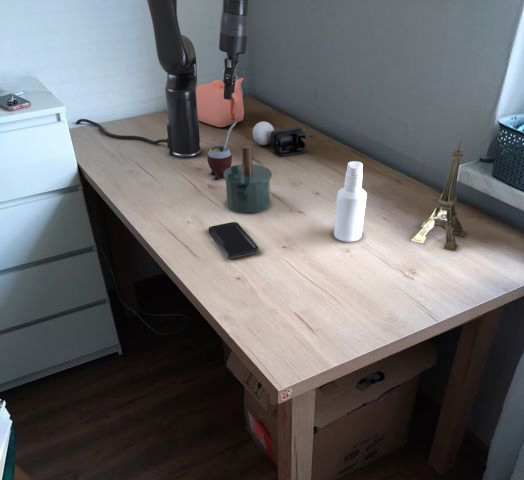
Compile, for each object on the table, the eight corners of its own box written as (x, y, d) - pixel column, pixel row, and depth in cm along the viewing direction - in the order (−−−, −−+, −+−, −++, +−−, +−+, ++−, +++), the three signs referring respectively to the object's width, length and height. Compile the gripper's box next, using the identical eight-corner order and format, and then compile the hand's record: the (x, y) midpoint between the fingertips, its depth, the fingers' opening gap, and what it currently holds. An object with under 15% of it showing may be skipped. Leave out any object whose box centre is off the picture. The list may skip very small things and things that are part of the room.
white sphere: (279, 145, 181) (279, 122, 177) (260, 150, 178) (260, 127, 173) (262, 136, 188) (262, 114, 183) (244, 141, 185) (243, 118, 180)
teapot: (263, 119, 202) (263, 78, 193) (225, 132, 191) (223, 90, 182) (226, 107, 212) (224, 68, 203) (187, 119, 201) (184, 79, 192)
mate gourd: (204, 178, 162) (200, 126, 152) (217, 168, 167) (214, 117, 157) (226, 182, 159) (224, 130, 149) (239, 172, 165) (237, 121, 155)
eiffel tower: (454, 251, 129) (482, 145, 113) (411, 240, 133) (431, 136, 117) (465, 232, 136) (492, 129, 120) (424, 222, 140) (444, 121, 124)
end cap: (297, 145, 182) (298, 124, 177) (307, 152, 177) (308, 131, 172) (269, 149, 179) (270, 128, 174) (278, 157, 174) (278, 135, 169)
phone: (236, 221, 138) (259, 248, 128) (236, 225, 139) (259, 252, 129) (206, 227, 136) (228, 255, 126) (207, 231, 137) (228, 260, 126)
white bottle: (363, 231, 137) (373, 160, 125) (358, 244, 132) (367, 171, 120) (337, 227, 138) (343, 156, 127) (330, 239, 134) (336, 167, 122)
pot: (219, 216, 143) (218, 187, 138) (235, 189, 156) (234, 161, 150) (262, 220, 141) (262, 190, 136) (274, 192, 154) (275, 164, 149)
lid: (218, 185, 140) (216, 153, 135) (230, 166, 149) (229, 136, 144) (266, 189, 138) (266, 157, 133) (275, 170, 147) (276, 139, 142)
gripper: (223, 27, 155) (219, 89, 165) (216, 33, 144) (213, 99, 153) (249, 31, 155) (243, 92, 165) (245, 37, 144) (239, 103, 153)
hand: (229, 96), depth 159 cm, fingers open, 8 cm apart
